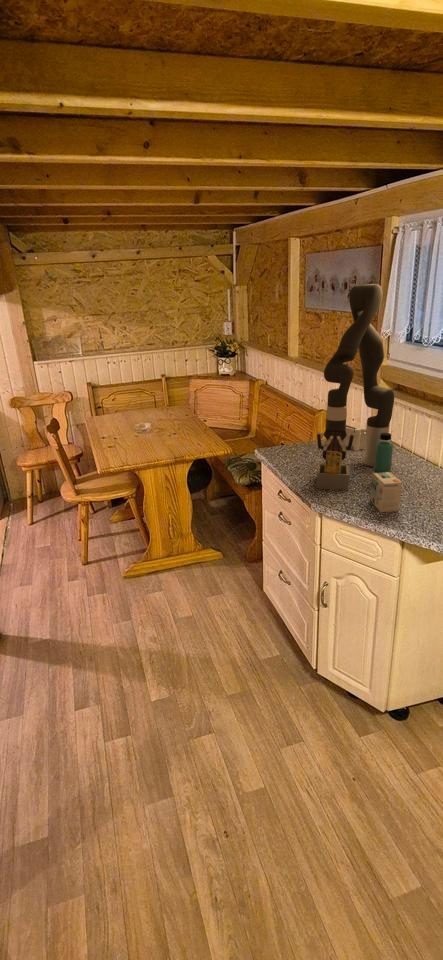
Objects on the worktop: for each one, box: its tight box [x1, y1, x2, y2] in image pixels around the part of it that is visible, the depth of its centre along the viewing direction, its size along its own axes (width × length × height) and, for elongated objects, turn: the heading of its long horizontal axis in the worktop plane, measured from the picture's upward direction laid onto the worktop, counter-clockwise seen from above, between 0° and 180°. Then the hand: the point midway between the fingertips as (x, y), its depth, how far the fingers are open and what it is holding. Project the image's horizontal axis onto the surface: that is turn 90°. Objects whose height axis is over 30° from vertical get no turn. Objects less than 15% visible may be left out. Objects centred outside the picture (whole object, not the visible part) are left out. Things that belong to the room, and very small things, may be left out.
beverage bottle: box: [373, 432, 394, 473], centre depth 198 cm, size 6×7×20 cm
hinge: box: [343, 424, 366, 451], centre depth 241 cm, size 14×5×10 cm, turn 44°
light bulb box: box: [369, 471, 403, 513], centre depth 179 cm, size 11×7×11 cm, turn 5°
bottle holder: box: [316, 463, 350, 491], centre depth 201 cm, size 12×12×6 cm
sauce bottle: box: [324, 432, 343, 474], centre depth 197 cm, size 6×6×20 cm
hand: (333, 459), depth 198 cm, fingers closed on sauce bottle, 6 cm apart
